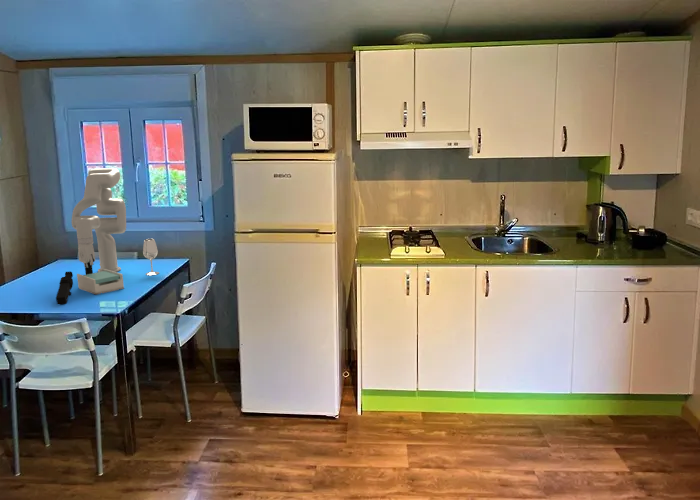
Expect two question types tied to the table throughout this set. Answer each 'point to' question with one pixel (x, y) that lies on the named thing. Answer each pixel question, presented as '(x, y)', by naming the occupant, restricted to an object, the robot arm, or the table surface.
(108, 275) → the lid
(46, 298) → the table surface
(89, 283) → the box
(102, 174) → the robot arm
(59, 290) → the toy gun
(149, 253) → the wineglass
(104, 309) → the table surface
